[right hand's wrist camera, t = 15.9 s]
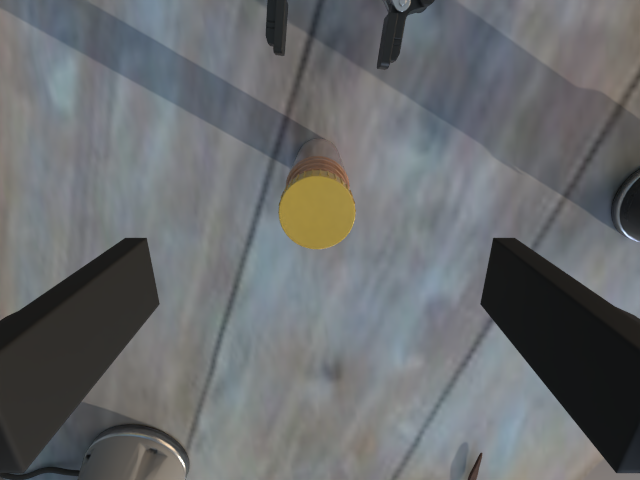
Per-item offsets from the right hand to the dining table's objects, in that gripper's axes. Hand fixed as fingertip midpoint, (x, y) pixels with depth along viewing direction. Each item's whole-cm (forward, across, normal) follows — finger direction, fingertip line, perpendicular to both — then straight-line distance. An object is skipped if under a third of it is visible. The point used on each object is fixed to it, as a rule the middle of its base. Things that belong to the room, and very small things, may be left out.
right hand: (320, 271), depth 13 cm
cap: (+7, 0, 0) cm, 7 cm away
